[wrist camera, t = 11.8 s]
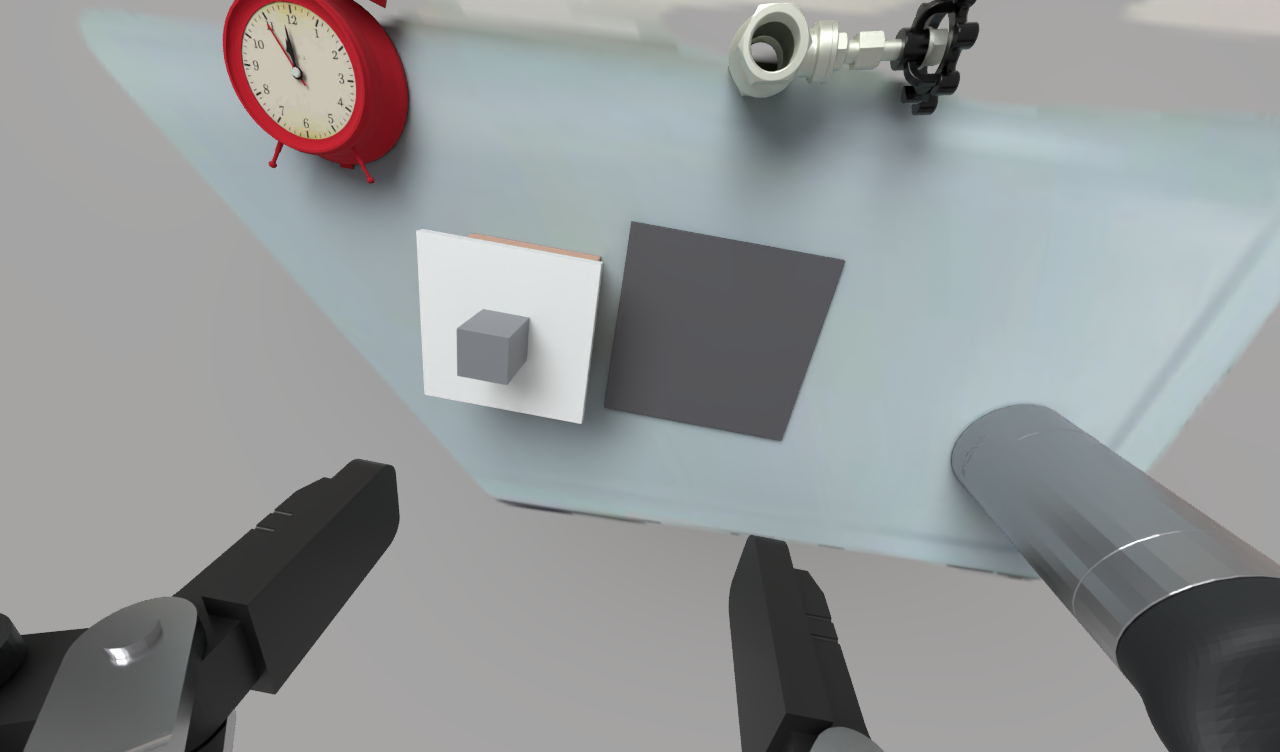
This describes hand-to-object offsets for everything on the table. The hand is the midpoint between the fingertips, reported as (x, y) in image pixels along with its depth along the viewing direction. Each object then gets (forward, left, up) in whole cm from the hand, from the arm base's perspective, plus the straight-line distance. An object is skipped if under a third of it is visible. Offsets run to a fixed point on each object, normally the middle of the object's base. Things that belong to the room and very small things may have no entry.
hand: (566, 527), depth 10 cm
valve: (-8, -15, -28) cm, 33 cm away
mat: (-6, +5, -28) cm, 29 cm away
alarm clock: (+24, -10, -29) cm, 39 cm away
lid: (+9, +5, -22) cm, 24 cm away
